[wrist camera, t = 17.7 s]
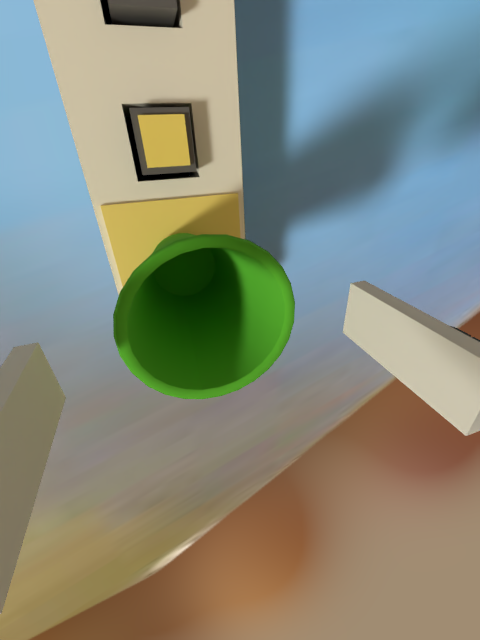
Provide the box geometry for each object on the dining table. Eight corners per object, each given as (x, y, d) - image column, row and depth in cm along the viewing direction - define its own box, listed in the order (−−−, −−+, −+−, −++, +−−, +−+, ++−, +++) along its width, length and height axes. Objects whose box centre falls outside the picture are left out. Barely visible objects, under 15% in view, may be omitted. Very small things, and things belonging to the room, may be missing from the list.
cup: (245, 215, 23) (317, 247, 14) (227, 316, 27) (274, 395, 17) (124, 195, 20) (112, 220, 10) (124, 313, 23) (114, 407, 14)
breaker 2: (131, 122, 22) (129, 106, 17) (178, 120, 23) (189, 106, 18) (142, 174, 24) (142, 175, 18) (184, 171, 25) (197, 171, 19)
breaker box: (18, -103, 16) (-28, -208, 12) (207, -77, 19) (228, -154, 14) (130, 305, 29) (128, 330, 24) (233, 287, 31) (249, 307, 27)
